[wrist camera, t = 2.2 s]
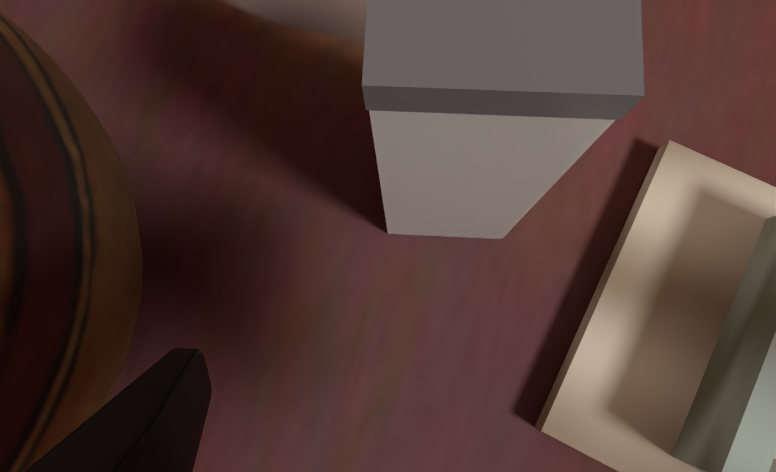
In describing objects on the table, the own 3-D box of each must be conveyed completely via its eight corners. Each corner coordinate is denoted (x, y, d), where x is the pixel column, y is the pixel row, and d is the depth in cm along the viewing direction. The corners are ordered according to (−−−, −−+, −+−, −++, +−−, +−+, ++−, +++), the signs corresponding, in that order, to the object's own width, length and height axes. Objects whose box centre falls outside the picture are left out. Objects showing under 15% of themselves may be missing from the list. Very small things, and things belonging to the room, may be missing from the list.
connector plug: (503, 240, 22) (643, 96, 9) (386, 234, 22) (361, 85, 9) (504, 129, 23) (635, -146, 10) (392, 125, 23) (377, -151, 10)
